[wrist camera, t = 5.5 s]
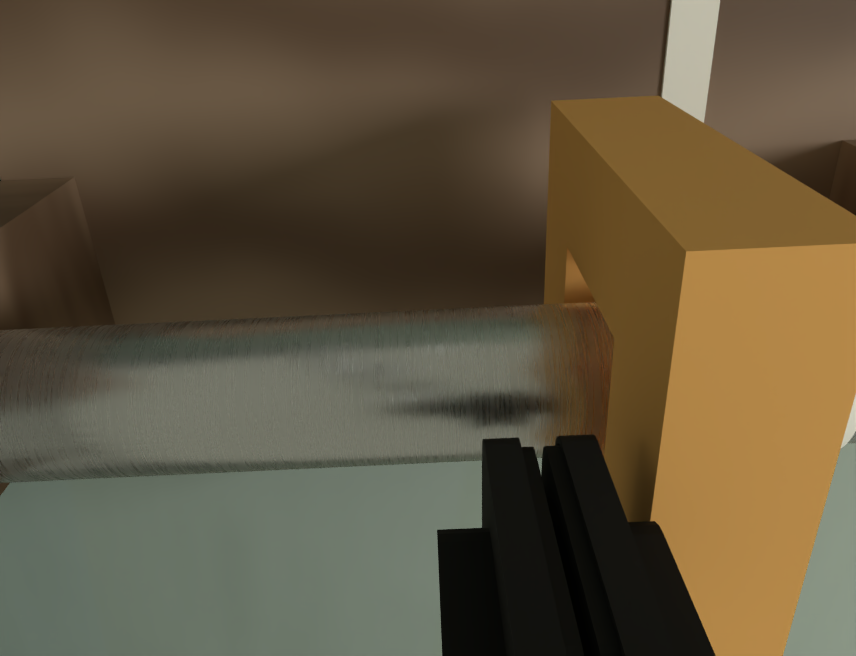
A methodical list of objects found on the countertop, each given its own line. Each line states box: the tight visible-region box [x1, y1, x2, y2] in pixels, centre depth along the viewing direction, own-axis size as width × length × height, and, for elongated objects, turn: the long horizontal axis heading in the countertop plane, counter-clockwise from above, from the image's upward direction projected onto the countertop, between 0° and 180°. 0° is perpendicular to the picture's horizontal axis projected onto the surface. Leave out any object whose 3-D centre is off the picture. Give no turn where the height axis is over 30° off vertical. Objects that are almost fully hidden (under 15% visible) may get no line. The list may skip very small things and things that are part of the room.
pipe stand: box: [0, 0, 856, 495], centre depth 18 cm, size 15×25×11 cm, turn 92°
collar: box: [544, 96, 856, 656], centre depth 14 cm, size 9×2×9 cm, turn 2°
